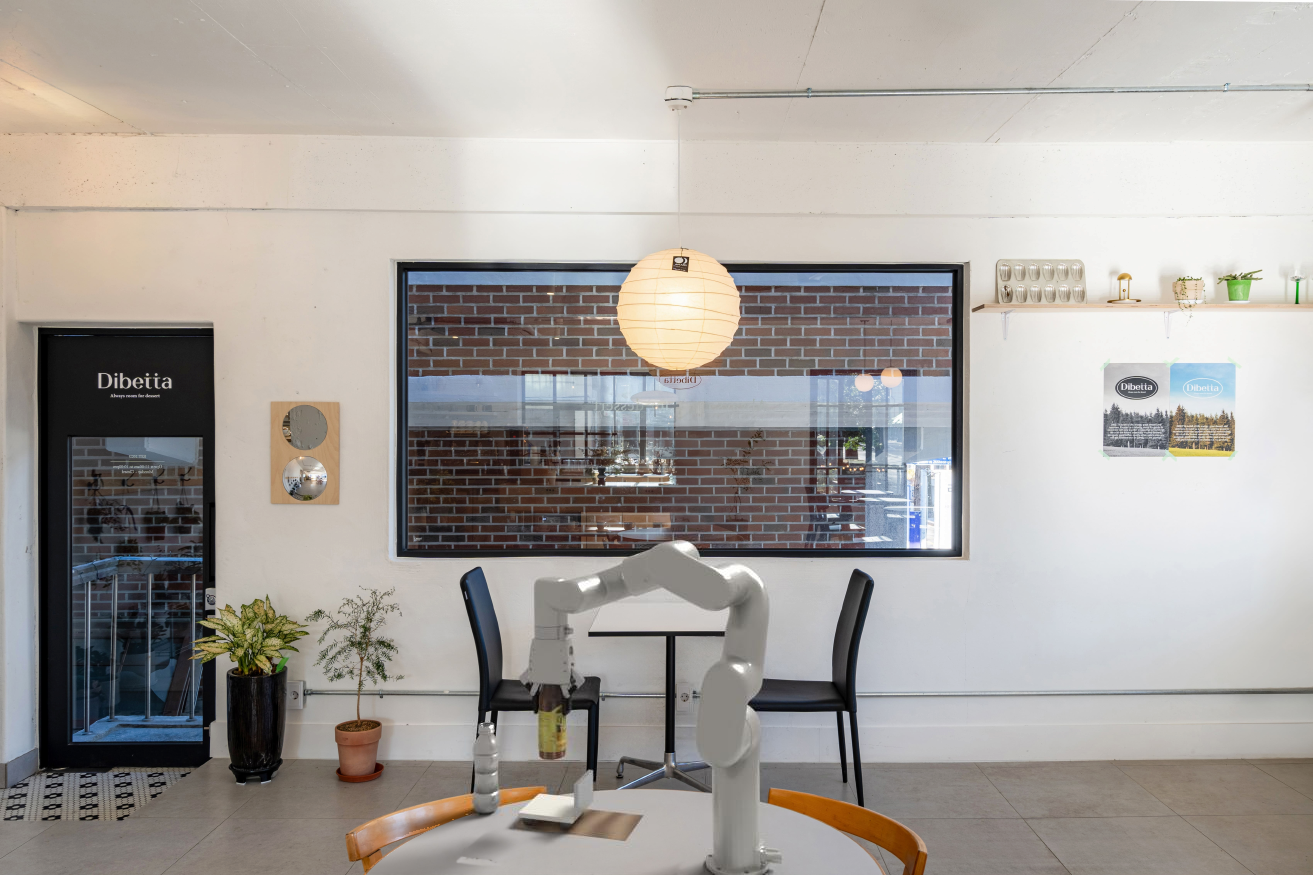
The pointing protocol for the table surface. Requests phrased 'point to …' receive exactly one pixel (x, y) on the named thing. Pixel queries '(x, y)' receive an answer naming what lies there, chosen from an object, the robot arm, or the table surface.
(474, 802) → the silver water bottle
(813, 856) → the table surface
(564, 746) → the sauce bottle
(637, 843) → the table surface
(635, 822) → the clip board
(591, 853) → the table surface
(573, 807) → the white bracket
